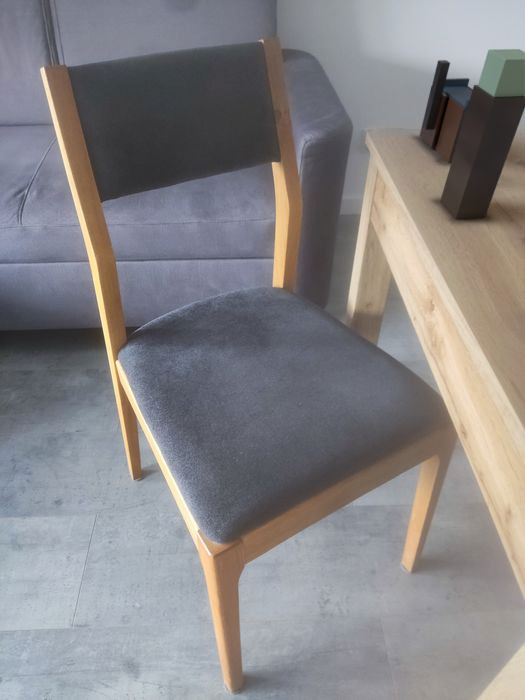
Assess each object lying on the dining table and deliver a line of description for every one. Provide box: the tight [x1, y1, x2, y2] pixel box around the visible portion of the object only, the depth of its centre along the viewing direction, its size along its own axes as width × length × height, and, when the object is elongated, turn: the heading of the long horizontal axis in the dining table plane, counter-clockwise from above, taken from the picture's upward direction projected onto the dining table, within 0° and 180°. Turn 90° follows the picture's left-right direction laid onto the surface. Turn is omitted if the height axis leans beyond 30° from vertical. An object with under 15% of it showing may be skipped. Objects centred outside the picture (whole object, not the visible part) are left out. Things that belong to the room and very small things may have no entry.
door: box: [419, 59, 451, 149], centre depth 85 cm, size 2×5×13 cm, turn 11°
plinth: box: [439, 84, 525, 220], centre depth 68 cm, size 4×5×16 cm
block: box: [477, 48, 525, 97], centre depth 62 cm, size 4×4×4 cm
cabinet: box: [433, 77, 473, 164], centre depth 85 cm, size 6×10×10 cm, turn 11°
